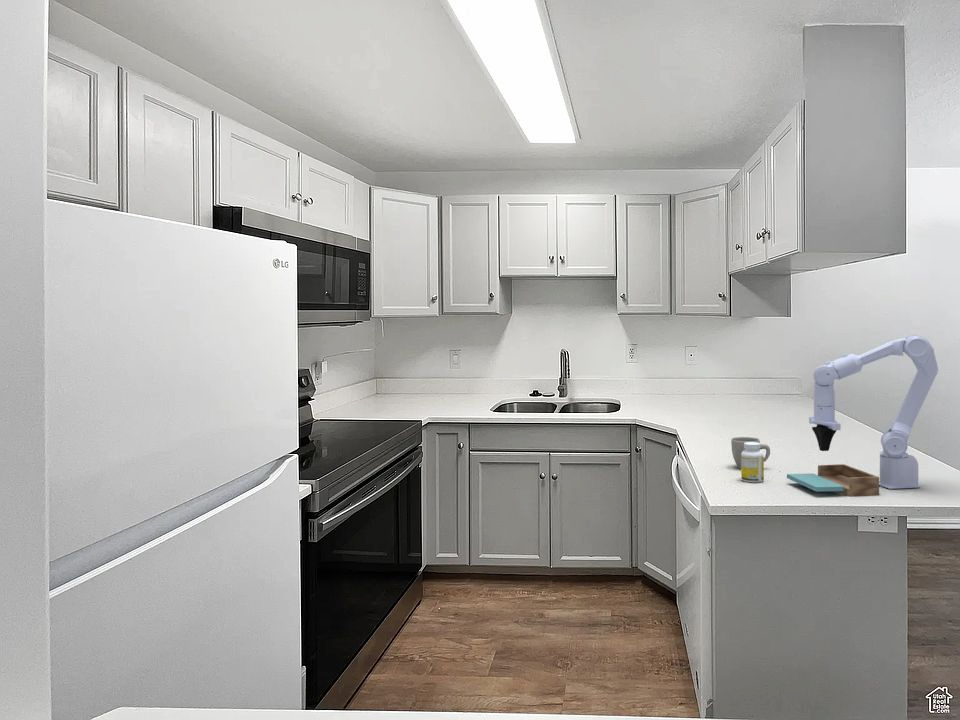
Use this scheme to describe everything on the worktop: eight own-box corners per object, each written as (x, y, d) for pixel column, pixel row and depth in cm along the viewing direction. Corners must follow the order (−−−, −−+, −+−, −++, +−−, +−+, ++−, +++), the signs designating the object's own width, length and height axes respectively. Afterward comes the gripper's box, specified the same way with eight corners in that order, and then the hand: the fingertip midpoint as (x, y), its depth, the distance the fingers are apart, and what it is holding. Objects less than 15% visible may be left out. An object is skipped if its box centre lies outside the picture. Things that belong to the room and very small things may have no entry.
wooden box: (843, 480, 227) (843, 464, 227) (879, 494, 209) (879, 477, 209) (814, 481, 226) (814, 465, 226) (847, 496, 209) (847, 478, 208)
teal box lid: (814, 473, 226) (786, 474, 225) (846, 486, 209) (816, 487, 208) (814, 477, 226) (786, 477, 225) (845, 490, 209) (816, 491, 208)
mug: (730, 470, 246) (730, 440, 246) (732, 464, 254) (732, 436, 254) (770, 472, 242) (769, 442, 241) (770, 466, 250) (770, 437, 249)
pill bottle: (758, 478, 234) (758, 441, 233) (767, 482, 227) (767, 444, 226) (738, 478, 233) (737, 441, 233) (746, 483, 227) (745, 445, 226)
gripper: (799, 403, 232) (799, 446, 233) (823, 409, 218) (823, 455, 219) (821, 402, 233) (821, 445, 233) (847, 408, 218) (847, 454, 219)
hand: (824, 450), depth 226 cm, fingers closed
